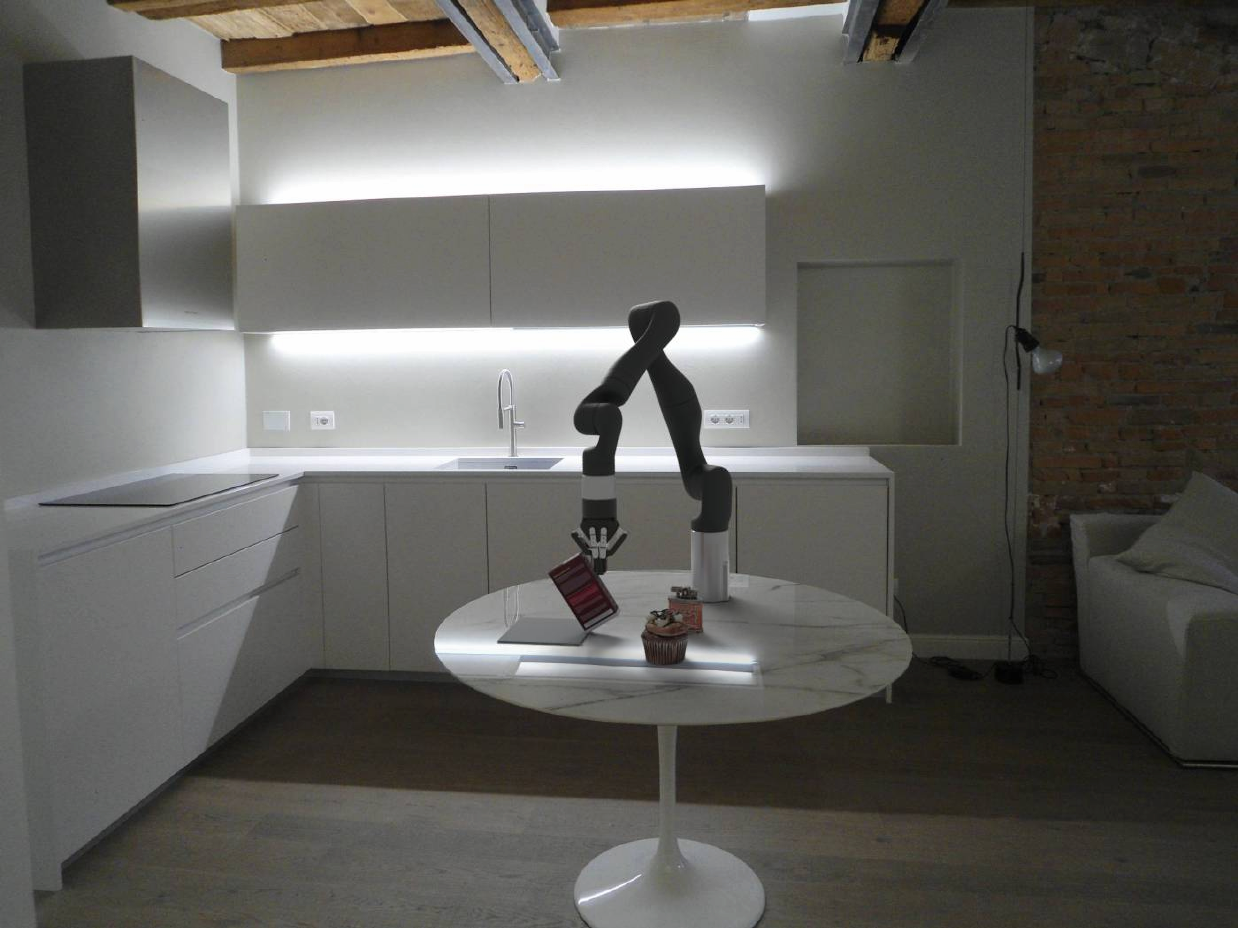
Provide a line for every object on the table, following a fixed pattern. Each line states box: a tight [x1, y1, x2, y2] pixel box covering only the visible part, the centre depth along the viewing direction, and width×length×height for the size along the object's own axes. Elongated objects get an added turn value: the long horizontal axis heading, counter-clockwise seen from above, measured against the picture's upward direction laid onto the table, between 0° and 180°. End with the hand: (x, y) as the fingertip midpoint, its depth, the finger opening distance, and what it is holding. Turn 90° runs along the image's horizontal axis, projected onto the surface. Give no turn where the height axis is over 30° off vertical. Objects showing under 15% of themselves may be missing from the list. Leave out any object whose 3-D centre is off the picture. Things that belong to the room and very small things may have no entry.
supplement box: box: [547, 550, 621, 635], centre depth 204 cm, size 9×5×16 cm
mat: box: [496, 616, 588, 646], centre depth 207 cm, size 18×18×1 cm
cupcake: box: [640, 608, 690, 666], centre depth 187 cm, size 10×10×10 cm
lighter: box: [667, 585, 704, 635], centre depth 205 cm, size 8×3×10 cm, turn 65°
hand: (600, 574), depth 203 cm, fingers closed
